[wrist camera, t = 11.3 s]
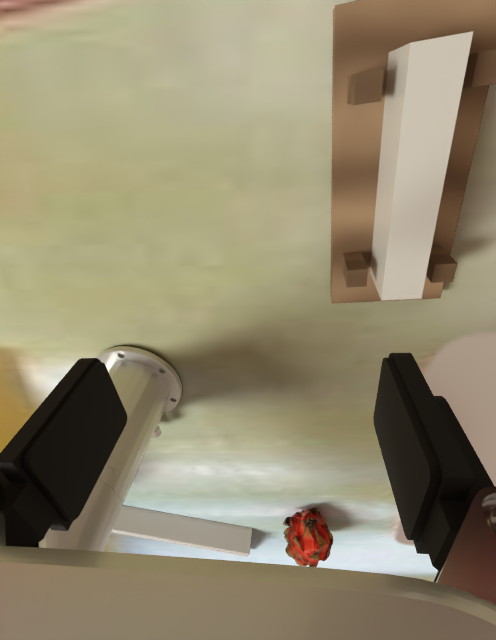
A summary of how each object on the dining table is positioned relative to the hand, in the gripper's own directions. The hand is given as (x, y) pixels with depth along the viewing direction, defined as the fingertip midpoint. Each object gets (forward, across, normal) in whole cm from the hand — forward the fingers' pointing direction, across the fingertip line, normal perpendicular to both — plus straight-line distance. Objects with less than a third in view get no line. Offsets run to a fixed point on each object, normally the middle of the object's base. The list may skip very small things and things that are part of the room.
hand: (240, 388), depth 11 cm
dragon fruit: (+24, -3, +57) cm, 62 cm away
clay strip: (+20, -10, -2) cm, 23 cm away
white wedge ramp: (+26, +26, +67) cm, 76 cm away
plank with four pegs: (+22, -10, -2) cm, 24 cm away
